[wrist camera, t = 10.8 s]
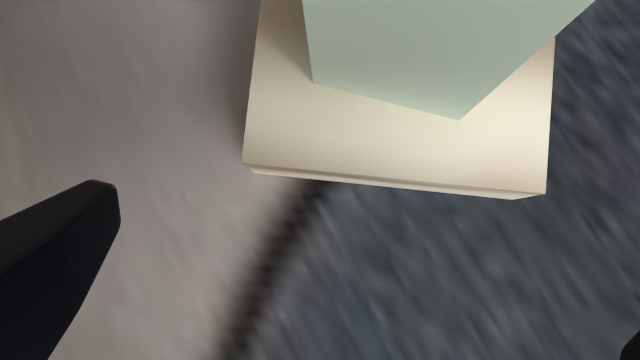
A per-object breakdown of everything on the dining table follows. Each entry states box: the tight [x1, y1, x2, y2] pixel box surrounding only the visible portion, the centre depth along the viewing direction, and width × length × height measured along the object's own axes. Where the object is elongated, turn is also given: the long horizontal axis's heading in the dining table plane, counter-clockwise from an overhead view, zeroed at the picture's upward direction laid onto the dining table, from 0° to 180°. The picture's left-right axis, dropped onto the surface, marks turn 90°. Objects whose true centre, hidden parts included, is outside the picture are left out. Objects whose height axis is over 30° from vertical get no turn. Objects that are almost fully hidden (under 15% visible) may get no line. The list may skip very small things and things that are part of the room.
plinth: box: [241, 0, 555, 200], centre depth 19 cm, size 10×10×3 cm
